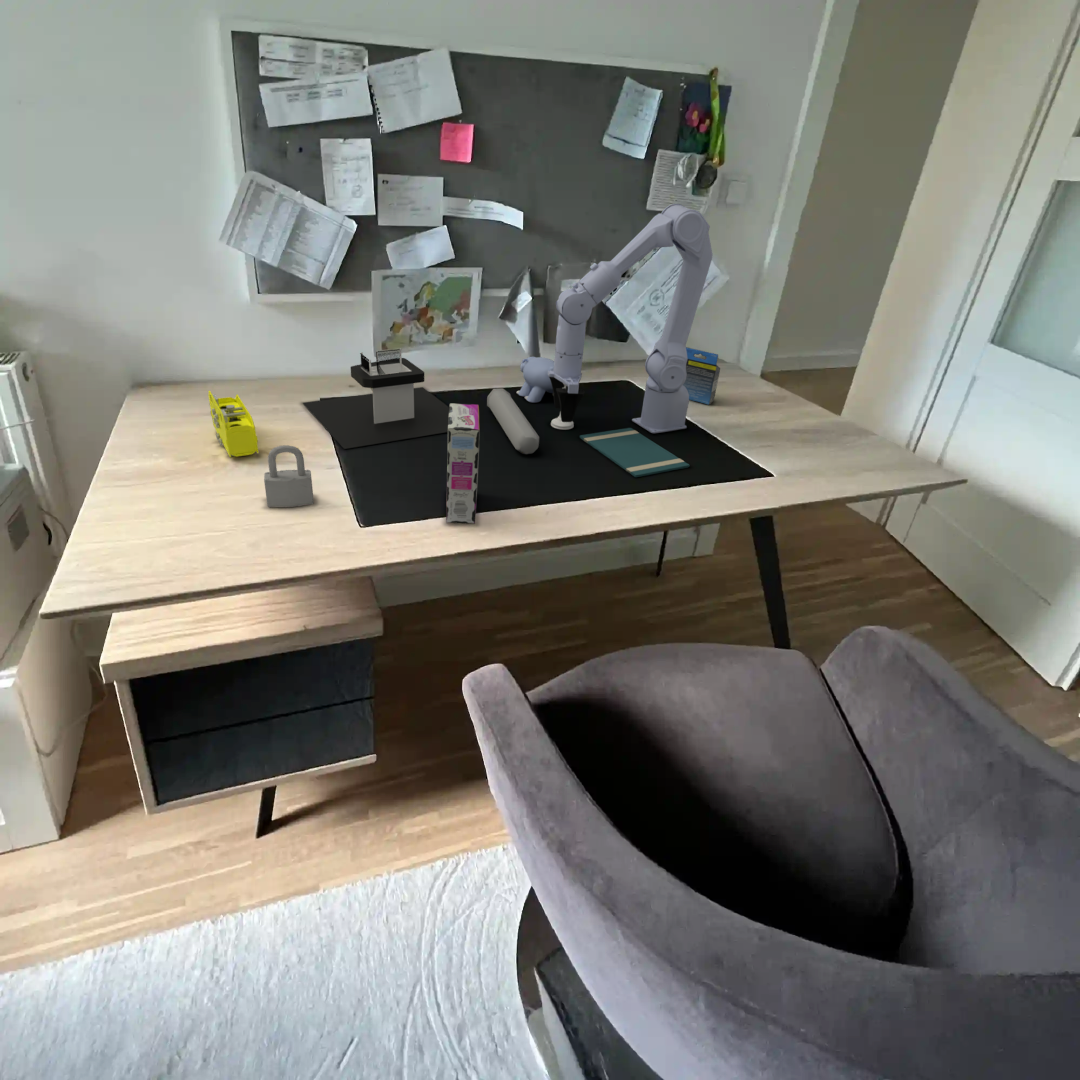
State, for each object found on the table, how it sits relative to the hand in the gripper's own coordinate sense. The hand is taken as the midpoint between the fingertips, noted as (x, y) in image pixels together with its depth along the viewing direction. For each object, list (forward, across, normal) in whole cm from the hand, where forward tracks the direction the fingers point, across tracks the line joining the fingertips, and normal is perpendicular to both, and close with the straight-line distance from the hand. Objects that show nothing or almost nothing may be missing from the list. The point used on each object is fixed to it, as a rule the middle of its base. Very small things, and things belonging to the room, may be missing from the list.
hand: (563, 414), depth 154 cm
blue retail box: (+3, -17, +36) cm, 40 cm away
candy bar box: (+3, +36, -24) cm, 44 cm away
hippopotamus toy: (+3, -20, -2) cm, 20 cm away
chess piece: (+3, 0, 0) cm, 3 cm away
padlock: (+3, +34, -52) cm, 62 cm away
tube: (+3, +4, -11) cm, 12 cm away
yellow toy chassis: (+3, +10, -65) cm, 65 cm away
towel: (+2, +14, +12) cm, 18 cm away
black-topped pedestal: (+3, -5, -37) cm, 37 cm away
